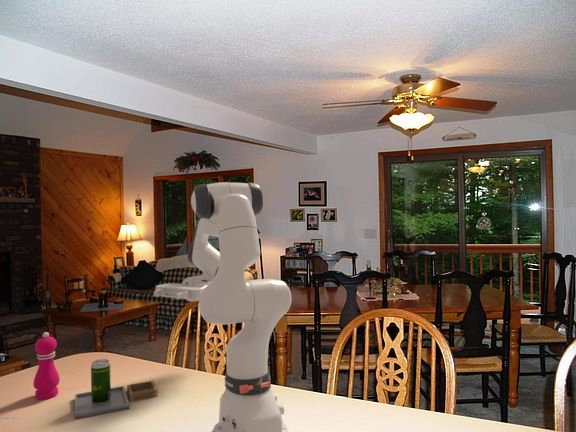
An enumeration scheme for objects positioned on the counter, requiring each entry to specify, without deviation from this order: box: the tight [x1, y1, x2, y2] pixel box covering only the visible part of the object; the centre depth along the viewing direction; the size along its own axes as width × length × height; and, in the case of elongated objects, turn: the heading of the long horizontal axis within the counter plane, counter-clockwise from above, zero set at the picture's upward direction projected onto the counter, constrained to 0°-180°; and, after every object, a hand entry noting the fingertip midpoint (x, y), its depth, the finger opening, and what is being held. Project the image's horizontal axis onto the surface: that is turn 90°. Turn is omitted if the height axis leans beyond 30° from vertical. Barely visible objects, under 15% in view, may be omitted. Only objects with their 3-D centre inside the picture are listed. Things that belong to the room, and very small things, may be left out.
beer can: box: [90, 358, 112, 405], centre depth 132 cm, size 5×5×12 cm
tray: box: [74, 385, 130, 420], centre depth 132 cm, size 14×14×2 cm
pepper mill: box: [33, 331, 60, 401], centre depth 138 cm, size 7×7×20 cm
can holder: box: [126, 380, 158, 402], centre depth 140 cm, size 8×8×2 cm
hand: (165, 295), depth 148 cm, fingers open, 8 cm apart
